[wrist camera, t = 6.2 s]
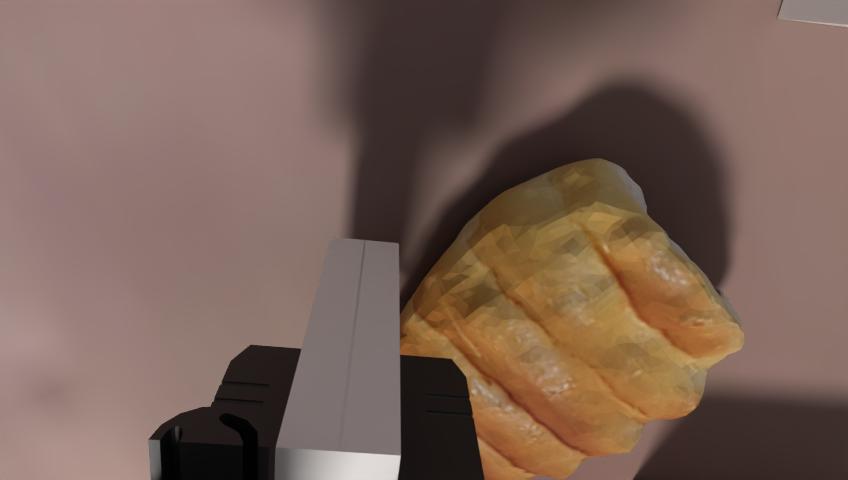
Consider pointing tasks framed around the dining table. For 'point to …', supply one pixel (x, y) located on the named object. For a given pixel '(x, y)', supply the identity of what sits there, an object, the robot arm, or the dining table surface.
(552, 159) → the dining table surface
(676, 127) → the dining table surface
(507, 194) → the pastry
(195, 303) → the dining table surface
